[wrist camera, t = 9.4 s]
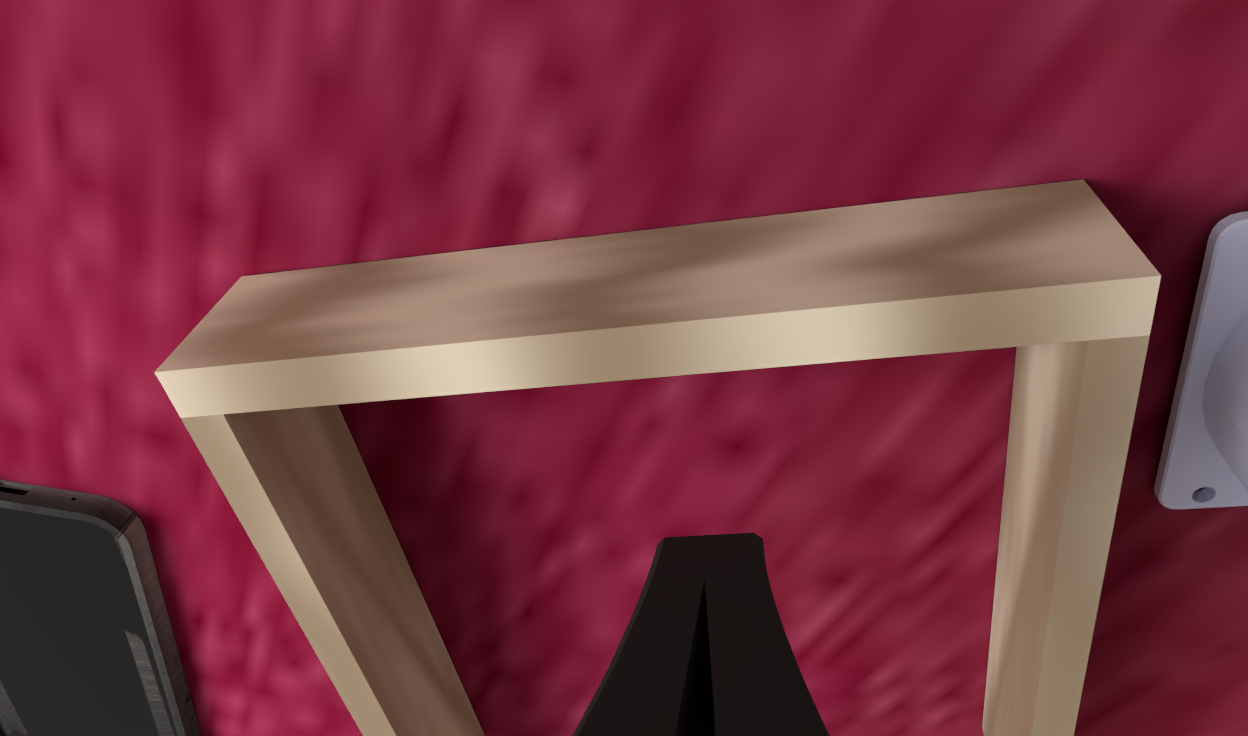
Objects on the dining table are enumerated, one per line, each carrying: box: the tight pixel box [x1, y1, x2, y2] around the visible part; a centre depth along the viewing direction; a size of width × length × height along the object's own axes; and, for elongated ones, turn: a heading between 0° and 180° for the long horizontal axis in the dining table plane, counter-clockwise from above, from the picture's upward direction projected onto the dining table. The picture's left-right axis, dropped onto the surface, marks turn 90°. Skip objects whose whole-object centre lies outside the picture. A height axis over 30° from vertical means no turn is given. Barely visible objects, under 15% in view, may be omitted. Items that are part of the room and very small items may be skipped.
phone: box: [0, 479, 201, 736], centre depth 31 cm, size 8×1×15 cm
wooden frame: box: [155, 179, 1161, 736], centre depth 23 cm, size 19×19×4 cm
